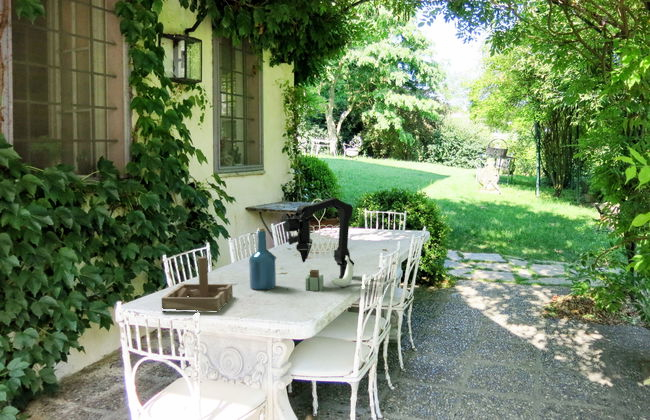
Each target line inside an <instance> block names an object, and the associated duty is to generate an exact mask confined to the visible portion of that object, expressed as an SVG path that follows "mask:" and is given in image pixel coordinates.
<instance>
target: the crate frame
mask: <svg viewBox="0 0 650 420" xmlns="http://www.w3.org/2000/svg"><path fill="white" fill-rule="evenodd" d="M222 287H224V288H227V289H228V300H229V301H231V299H232V298H233V293H234V292H233V284H232V283H208V294H209V298H190V297H187V298H184V297H176V296H177V294H178V293H179V292H180V290H181V289H182V288H185V289H187V296H190V290H195V289H197V290H199V283H181V284H180V285H179V286H177V287H176V288H174V289H173V290H171V291H170V292H168V293H167V294H165V295H164V296H162V297H161V309H162V308H163V309H176V310H196V311H197V310H198V311H218V310H219V309H220V308H221V307H222V306H223V305H224V304H225V303H226V291H221V292H220V293H219V294H218V295H217V289H218V288H222ZM199 292H200V290H199ZM225 305H226V304H225ZM225 305H224V306H225ZM224 306H223V307H224ZM223 307H222V308H223ZM222 308H221V309H222ZM221 309H220V310H221ZM220 310H219V311H220ZM219 311H218V312H219Z"/></svg>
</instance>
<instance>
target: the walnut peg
mask: <svg viewBox="0 0 650 420" xmlns="http://www.w3.org/2000/svg"><path fill="white" fill-rule="evenodd" d="M319 271H320V270H319V269H310V270H309V275H310V278H318V290H319V278H320V272H319Z"/></svg>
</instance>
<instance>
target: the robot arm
mask: <svg viewBox="0 0 650 420" xmlns="http://www.w3.org/2000/svg"><path fill="white" fill-rule="evenodd" d="M331 207H333V208H334V209H335V210H336V211H337V216H338V219H339V229H338V231H339V232H338V246H337V249H334V251H333V258H334V261H335V262H336V265H337V266H339V274H340V275H339V277H338V278H339V279H342V278H343V277H344V274H345V271H346V267H347V261H346V260H345V258H346V255H347V256H348V258H349V261H350V262H351V263H352V265H353V267H354V265H355V262H354V260H352V259H351V254H350V250H349V248H348V245H349V242H348V241H349V227H350V220H351V218H352V216H353V212H354V207H353V206H352V205H351V204H350V203H346V202H344V201H342V200H341V199H339V198H338V197H330V198H327V199H324V200H320V201H318V202H315V203H312V204H301V205H299V206H298V207H297V208H296V211H295V213H294V215H293V216H292V217H290V218H289V217H286V218H285V221H284V224H283V228H284V231H285V232H286V233H288V232H291V233H292V232H297V231H298V232H297V235H291V236H289V237H288V238H287V242H288V245H291V246H292V245H293V244H296V243H297V244H296V246H295V247H296V250H297V251H298V252H299V253H300V257H301V261H302V263H306V260H307V259H308V257H309V254H310V251H311V249H312V246H313V239H312V238H311V222H314V218H313V217H312V216H313V215H314V214H315V213H317V212H320V211H322V210H325V209H329V208H331Z"/></svg>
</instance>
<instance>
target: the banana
mask: <svg viewBox="0 0 650 420" xmlns="http://www.w3.org/2000/svg"><path fill="white" fill-rule="evenodd" d="M345 260H346V261H347V267H346V271H345V274H344V277H343V278H339V277H337V278H332V279H331V280H330V281H331V283H332V284H333V285H335V286H336V287H339V288H344V287H348V286H349V285H350V284H351V282H352V279H353V275H354V266H353V265H352V263H351V262H350V261H349V258H348V256H347V255H346V258H345Z"/></svg>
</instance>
